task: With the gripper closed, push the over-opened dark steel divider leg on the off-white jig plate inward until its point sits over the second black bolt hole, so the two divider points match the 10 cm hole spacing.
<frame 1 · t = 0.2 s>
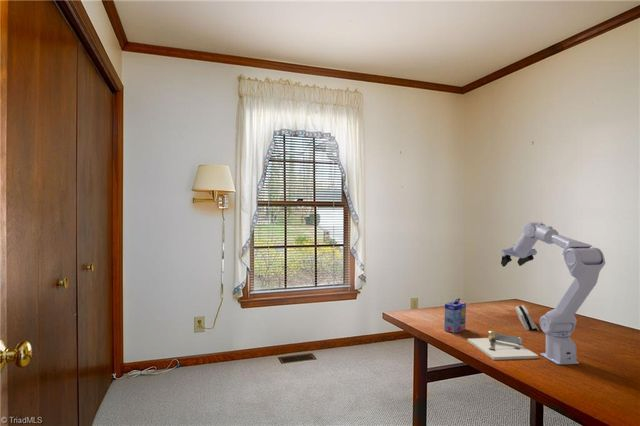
hand: (510, 264, 161), 31 cm above the table, tool tilted 45°, fingers open, 7 cm apart
divider leg: (504, 337, 147), point 3 cm above the table, hinge at 18.0°
ink cartridge box: (455, 330, 168), on the table
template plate: (500, 349, 143), on the table
divider fixed leg: (492, 343, 149), resting on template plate
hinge: (525, 325, 174), on the table
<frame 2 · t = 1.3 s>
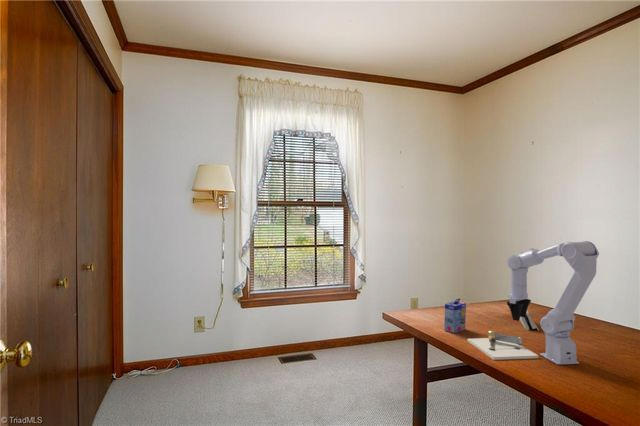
hand: (519, 318, 148), 10 cm above the table, tool pointing down, fingers open, 6 cm apart
nothing on the table moved.
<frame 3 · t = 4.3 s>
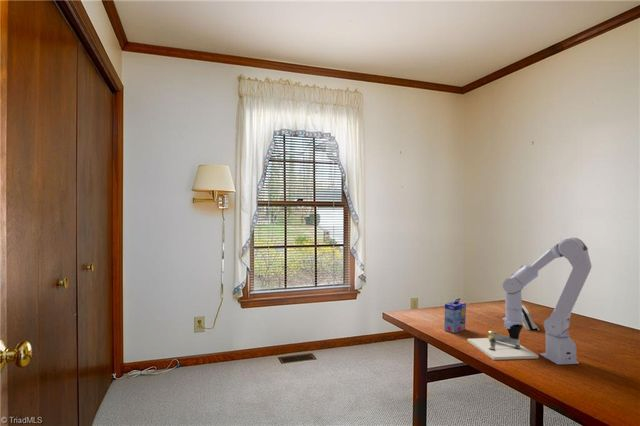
hand: (514, 343, 144), 2 cm above the table, tool pointing down, fingers closed, pressing on divider leg
divider leg: (503, 338, 146), point 3 cm above the table, hinge at 3.7°, touching gripper
everything else where it was.
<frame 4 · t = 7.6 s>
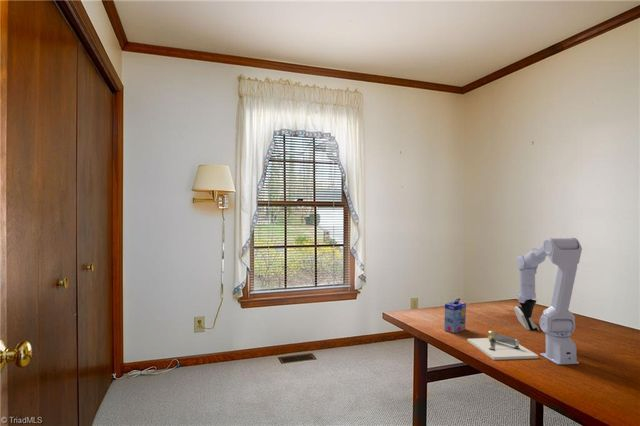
hand: (527, 317, 154), 9 cm above the table, tool pointing down, fingers closed
divider leg: (503, 338, 146), point 3 cm above the table, hinge at -0.4°
everything else where it was.
at the end: divider leg at +0° (first picture: +18°); ink cartridge box moved 0.3 cm from its start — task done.
